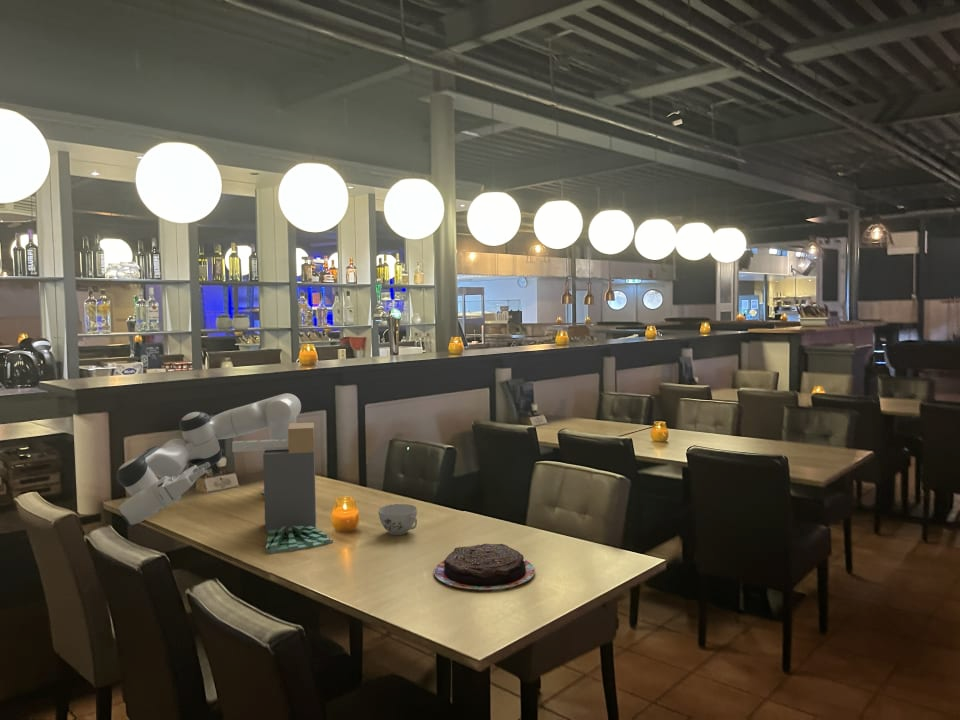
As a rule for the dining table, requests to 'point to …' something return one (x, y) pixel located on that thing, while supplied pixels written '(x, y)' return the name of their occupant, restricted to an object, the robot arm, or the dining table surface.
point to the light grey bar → (260, 445)
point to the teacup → (398, 518)
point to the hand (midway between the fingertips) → (206, 467)
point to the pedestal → (291, 481)
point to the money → (295, 539)
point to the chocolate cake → (484, 568)
